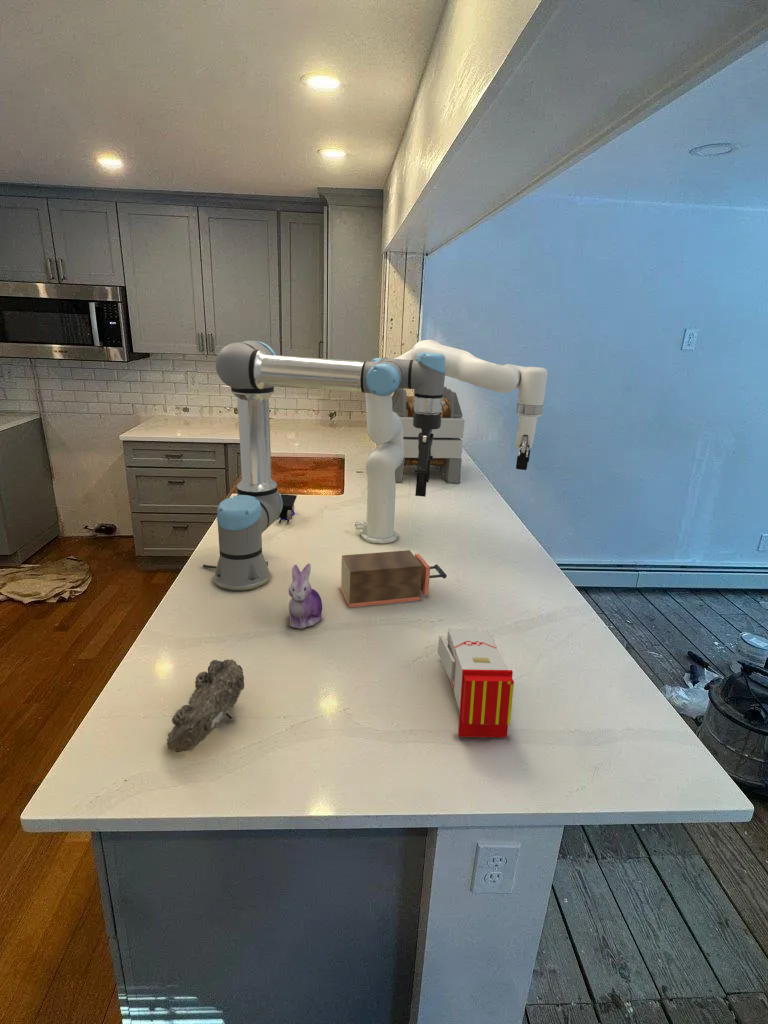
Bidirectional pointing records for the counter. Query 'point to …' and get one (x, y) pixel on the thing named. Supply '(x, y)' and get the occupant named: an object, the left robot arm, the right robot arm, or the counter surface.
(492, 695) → the toy
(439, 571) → the drawer
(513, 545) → the counter surface
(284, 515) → the figurine character
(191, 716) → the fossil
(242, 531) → the left robot arm
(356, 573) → the cabinet
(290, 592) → the figurine
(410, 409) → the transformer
